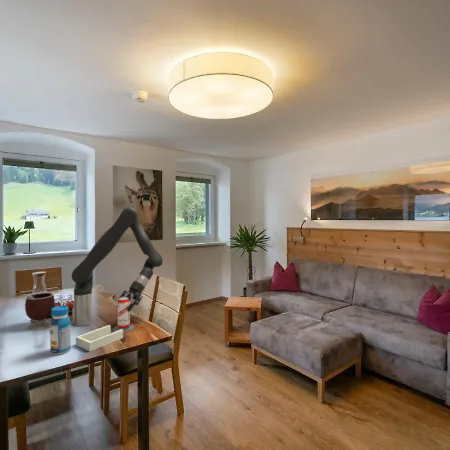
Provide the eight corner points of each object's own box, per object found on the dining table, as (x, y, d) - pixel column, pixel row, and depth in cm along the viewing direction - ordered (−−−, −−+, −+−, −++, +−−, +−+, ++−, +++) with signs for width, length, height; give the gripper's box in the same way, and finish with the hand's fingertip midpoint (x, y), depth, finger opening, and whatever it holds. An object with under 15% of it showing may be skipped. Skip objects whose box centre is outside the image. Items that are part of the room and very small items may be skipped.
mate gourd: (46, 319, 172) (46, 286, 171) (60, 324, 165) (59, 289, 164) (17, 328, 159) (16, 292, 158) (30, 334, 152) (29, 296, 151)
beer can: (119, 325, 162) (119, 297, 162) (130, 325, 163) (130, 296, 162) (116, 329, 156) (116, 300, 155) (128, 329, 156) (128, 299, 156)
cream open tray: (89, 351, 133) (89, 342, 133) (76, 345, 139) (75, 337, 139) (123, 337, 148) (123, 329, 147) (109, 332, 154) (109, 324, 154)
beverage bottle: (69, 354, 130) (68, 309, 130) (47, 356, 128) (46, 311, 127) (73, 345, 138) (72, 304, 138) (53, 348, 136) (52, 305, 135)
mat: (109, 332, 154) (109, 331, 154) (118, 324, 165) (118, 323, 165) (129, 333, 153) (129, 332, 153) (137, 325, 164) (137, 324, 164)
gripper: (127, 279, 169) (110, 303, 160) (144, 282, 161) (127, 308, 152) (135, 286, 174) (118, 310, 164) (151, 289, 166) (135, 315, 157)
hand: (122, 309), depth 158 cm, fingers open, 8 cm apart
